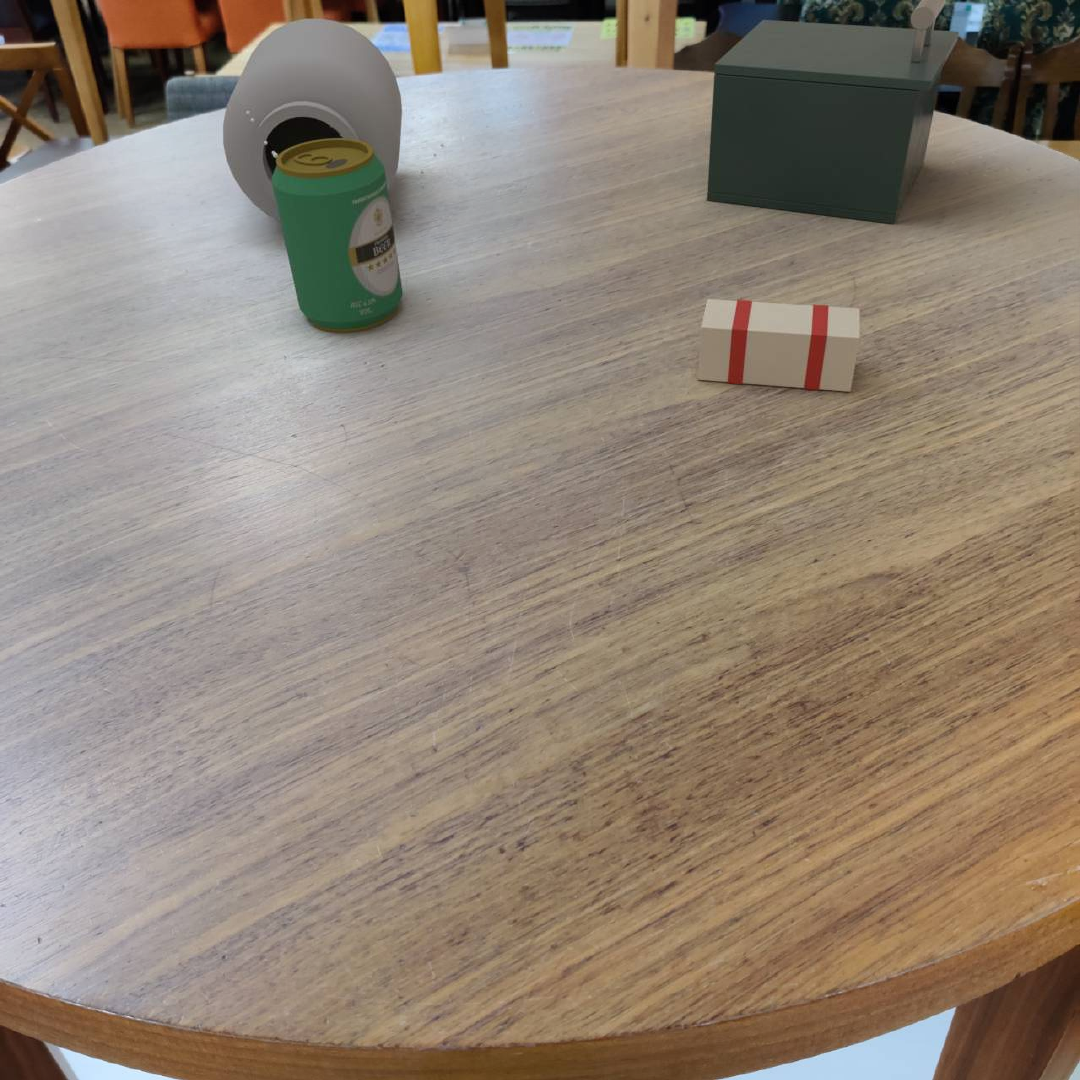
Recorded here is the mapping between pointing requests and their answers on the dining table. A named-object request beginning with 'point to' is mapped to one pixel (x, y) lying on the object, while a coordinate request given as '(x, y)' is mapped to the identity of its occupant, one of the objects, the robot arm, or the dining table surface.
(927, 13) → the bin lid
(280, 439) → the dining table surface
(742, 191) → the bin
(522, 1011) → the dining table surface
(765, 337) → the red striped parcel
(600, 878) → the dining table surface
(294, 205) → the beverage can
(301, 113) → the jar
